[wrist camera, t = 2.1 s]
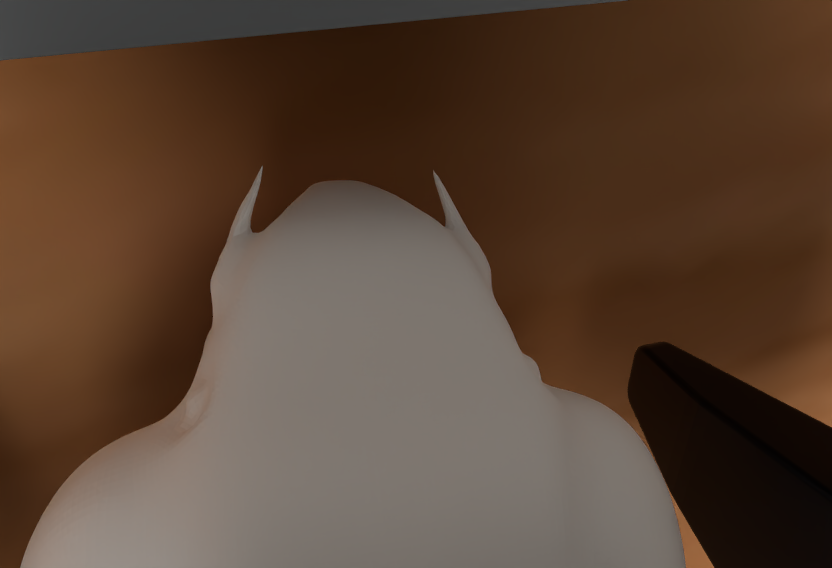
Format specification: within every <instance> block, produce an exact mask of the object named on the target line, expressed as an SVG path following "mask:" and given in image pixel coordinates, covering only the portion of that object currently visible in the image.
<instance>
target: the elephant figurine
mask: <svg viewBox="0 0 832 568" xmlns="http://www.w3.org/2000/svg"><path fill="white" fill-rule="evenodd" d="M262 169H263V166H262V167H261V169H260V171H259V173H258V175H257V177H256V179H255V181H254V183H253V185H252V187H251V189H250V191H249V193H248V194H247V196H246V197H245V199H244V200H243V202H242V204H241V206H240V208H239V210H238V212H237V214H236V216H235V219H234V221H233V224H232V226H231V229H230V233H229V236H228V239H227V243H226V245H225V247H224V249H223V251H222V253H221V255H220V257H219V259H218V262H217V265H216V267H215V270H214V272H213V275H212V278H211V283H210V289H211V297H212V306H213V322H212V328H211V330H210V331H209V333H208V335H207V338H206V341H205V344H204V349H203V354H202V357H201V360H200V363H199V366H198V369H197V372H196V375H195V378H194V380H193V383H192V385H191V387H190V389H189V391H188V392H187V394H186V396H185V397H184V399H183V400H182V401H181V403H180V404H179V405H178V406H177V407H176V408H175V409H174V410H173V411H172V412H171V413H170V414H169V415H167V416H166V417H165V418H163V419H162V420H160V421H158V422H156V423H154V424H151V425H149V426H147V427H144V428H142V429H139V430H137V431H134V432H132V433H130V434H127V435H125V436H123V437H121V438H119V439H117V440H115V441H113V442H112V443H110V444H108V445H107V446H105V447H103V448H102V449H100V450H99V451H97V452H96V453H95V454H93V455H92V456H91V457H89V458H88V459H87V460H86V461H85V462H83V463H82V464H81V465H80V466H79V467H78V468H77V469H76V470H75V471H74V472H73V473H72V474H71V475H70V476H69V477H68V478H67V480H66V481H65V482H64V483H63V484H62V486H61V487H60V488H59V489H58V491H57V492H56V494H55V495H54V497H53V498H52V500H51V501H50V503H49V504H48V506H47V507H46V509H45V511H44V512H43V514H42V516H41V518H40V520H39V522H38V524H37V526H36V528H35V530H34V532H33V534H32V536H31V539H30V541H29V543H28V546H27V548H26V551H25V554H24V557H23V560H22V563H21V566H20V568H686V565H685V557H684V550H683V544H682V539H681V534H680V529H679V525H678V521H677V517H676V514H675V510H674V507H673V503H672V500H671V497H670V494H669V491H668V488H667V486H666V483H665V481H664V479H663V476H662V474H661V472H660V470H659V468H658V466H657V464H656V462H655V460H654V459H653V457H652V455H651V453H650V452H649V450H648V448H647V447H646V445H645V444H644V442H643V441H642V440H641V438H640V437H639V435H638V434H637V433H636V432H635V430H634V429H633V428H632V427H631V426H630V425H629V424H628V423H627V422H626V421H625V420H624V419H623V418H622V417H621V416H619V415H618V414H617V413H616V412H614V411H613V410H611V409H610V408H608V407H607V406H605V405H604V404H602V403H600V402H598V401H596V400H594V399H591V398H589V397H586V396H584V395H581V394H578V393H575V392H572V391H568V390H564V389H560V388H556V387H552V386H550V385H547V384H545V383H543V382H542V380H541V376H540V371H539V367H538V365H537V363H536V362H535V361H534V360H533V359H532V358H531V357H529V356H527V355H525V354H523V353H522V352H521V350H520V348H519V346H518V344H517V342H516V339H515V337H514V334H513V332H512V330H511V328H510V326H509V324H508V322H507V320H506V318H505V316H504V314H503V313H502V311H501V309H500V307H499V306H498V304H497V302H496V300H495V298H494V295H493V291H492V284H491V269H490V265H489V263H488V261H487V259H486V256H485V255H484V253H483V251H482V250H481V248H480V246H479V244H478V243H477V242H476V241H475V239H474V238H473V237H472V235H471V234H470V232H469V230H468V229H467V227H466V225H465V224H464V222H463V220H462V218H461V216H460V214H459V213H458V211H457V209H456V207H455V205H454V203H453V201H452V199H451V198H450V196H449V194H448V192H447V190H446V189H445V187H444V185H443V184H442V182H441V180H440V178H439V177H438V175H437V174H436V173H435V172H434V170H433V174H434V180H435V184H436V187H437V191H438V194H439V197H440V200H441V203H442V207H443V210H444V214H445V220H446V222H445V227H444V226H442V225H441V224H440V223H439V222H438V221H436V220H435V219H434V218H432V217H431V216H429V215H428V214H426V213H424V212H423V211H421V210H419V209H418V208H416V207H414V206H413V205H411V204H410V203H408V202H407V201H405V200H403V199H401V198H399V197H398V196H396V195H394V194H392V193H390V192H388V191H385V190H383V189H381V188H378V187H376V186H373V185H370V184H367V183H364V182H360V181H353V180H333V181H323V182H319V183H315V184H313V185H311V186H310V187H309V188H307V190H306V191H305V192H303V193H302V194H301V195H300V196H299V197H298V198H297V199H296V200H295V201H293V202H292V203H291V205H289V206H288V207H287V208H286V209H285V210H284V212H283V213H282V214H281V215H280V216H279V217H278V218H277V219H276V220H274V221H273V222H272V223H271V224H270V225H269V226H268V227H267V228H266V229H264V230H263V231H262V232H259V233H253V232H252V230H251V228H250V226H251V216H252V212H253V207H254V204H255V201H256V197H257V194H258V190H259V186H260V183H261V177H262Z"/></svg>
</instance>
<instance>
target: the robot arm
mask: <svg viewBox="0 0 832 568" xmlns="http://www.w3.org/2000/svg"><path fill="white" fill-rule="evenodd" d="M628 398H629V402H630V404H631V407H632V409H633V411H634V413H635V416H636V418H637V420H638V422H639V424H640V427H641V429H642V431H643V433H644V435H645V438H646V440H647V442H648V444H649V447H650V449H651V451H652V453H653V455H654V458H655V460H656V462H657V464H658V466H659V469H660V471H661V473H662V475H663V478H664V480H665V482H666V484H667V486H668V488H669V490H670V492H671V494H672V496H673V498H674V499H675V501H676V503H677V505H678V507H679V508H680V510H681V512H682V514H683V515H684V517H685V519H686V520H687V522H688V524H689V525H690V527H691V529H692V531H693V532H694V534H695V536H696V537H697V539H698V541H699V542H700V544H701V546H702V548H703V549H704V551H705V553H706V554H707V556H708V558H709V559H710V561H711V563H712V564H713V566H714V568H832V427H830V426H828V425H826V424H824V423H822V422H820V421H818V420H816V419H814V418H812V417H810V416H808V415H807V414H805V413H803V412H801V411H799V410H797V409H795V408H793V407H791V406H789V405H787V404H785V403H783V402H782V401H780V400H778V399H776V398H774V397H772V396H770V395H768V394H766V393H764V392H762V391H760V390H758V389H757V388H755V387H753V386H751V385H749V384H747V383H745V382H743V381H741V380H739V379H737V378H735V377H733V376H731V375H730V374H728V373H726V372H724V371H722V370H720V369H718V368H716V367H714V366H712V365H710V364H708V363H706V362H705V361H703V360H701V359H699V358H697V357H695V356H693V355H691V354H689V353H687V352H685V351H683V350H681V349H680V348H678V347H676V346H674V345H672V344H670V343H667V342H658V343H652V344H647V345H642V346H640V347H638V349H637V350H636V351H635V354H634V359H633V364H632V369H631V373H630V378H629V383H628Z"/></svg>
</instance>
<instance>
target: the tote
mask: <svg viewBox="0 0 832 568" xmlns="http://www.w3.org/2000/svg"><path fill="white" fill-rule="evenodd" d="M616 1H626V0H0V60H10V59H20V58H31V57H41V56H52V55H62V54H72V53H83V52H93V51H104V50H114V49H125V48H135V47H146V46H156V45H167V44H177V43H187V42H198V41H208V40H219V39H229V38H240V37H250V36H261V35H271V34H282V33H292V32H302V31H313V30H323V29H334V28H344V27H355V26H365V25H376V24H386V23H397V22H407V21H417V20H428V19H438V18H449V17H459V16H470V15H480V14H491V13H501V12H511V11H522V10H532V9H543V8H553V7H564V6H574V5H585V4H595V3H606V2H616Z"/></svg>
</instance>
